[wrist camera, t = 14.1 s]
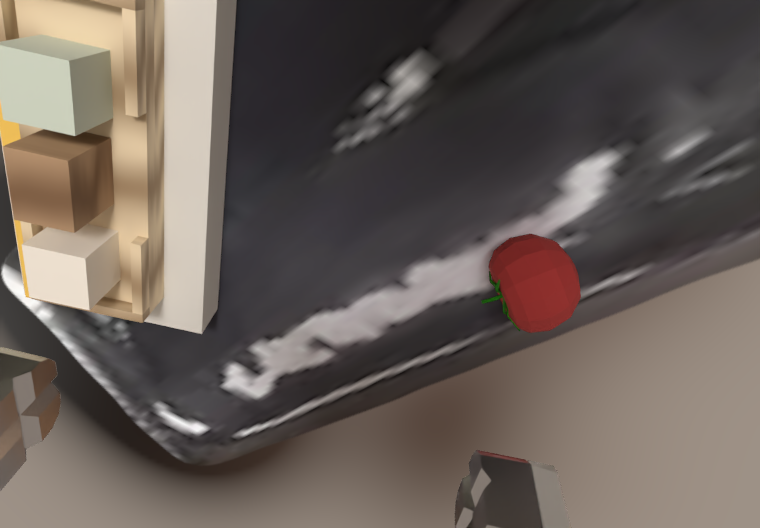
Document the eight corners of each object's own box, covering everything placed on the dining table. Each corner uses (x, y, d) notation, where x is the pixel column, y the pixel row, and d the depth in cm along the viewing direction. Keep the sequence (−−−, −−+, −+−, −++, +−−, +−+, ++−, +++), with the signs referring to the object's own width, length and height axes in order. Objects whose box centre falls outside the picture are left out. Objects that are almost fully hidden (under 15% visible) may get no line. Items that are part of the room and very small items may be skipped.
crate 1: (41, 34, 34) (-9, 43, 30) (110, 50, 34) (69, 60, 30) (48, 103, 36) (3, 119, 32) (113, 118, 36) (75, 136, 32)
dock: (8, -98, 37) (-40, -105, 33) (239, -44, 37) (217, -45, 33) (52, 272, 51) (23, 296, 48) (217, 309, 52) (200, 335, 48)
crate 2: (60, 218, 40) (21, 244, 37) (118, 230, 41) (85, 258, 37) (65, 267, 43) (29, 297, 39) (120, 279, 43) (89, 310, 39)
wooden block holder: (26, -39, 35) (-73, -40, 28) (164, -7, 35) (99, -1, 28) (61, 274, 46) (-2, 326, 40) (164, 296, 47) (118, 352, 40)
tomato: (603, 293, 37) (499, 335, 38) (592, 325, 44) (505, 360, 45) (551, 203, 41) (457, 242, 42) (548, 245, 48) (468, 278, 49)
